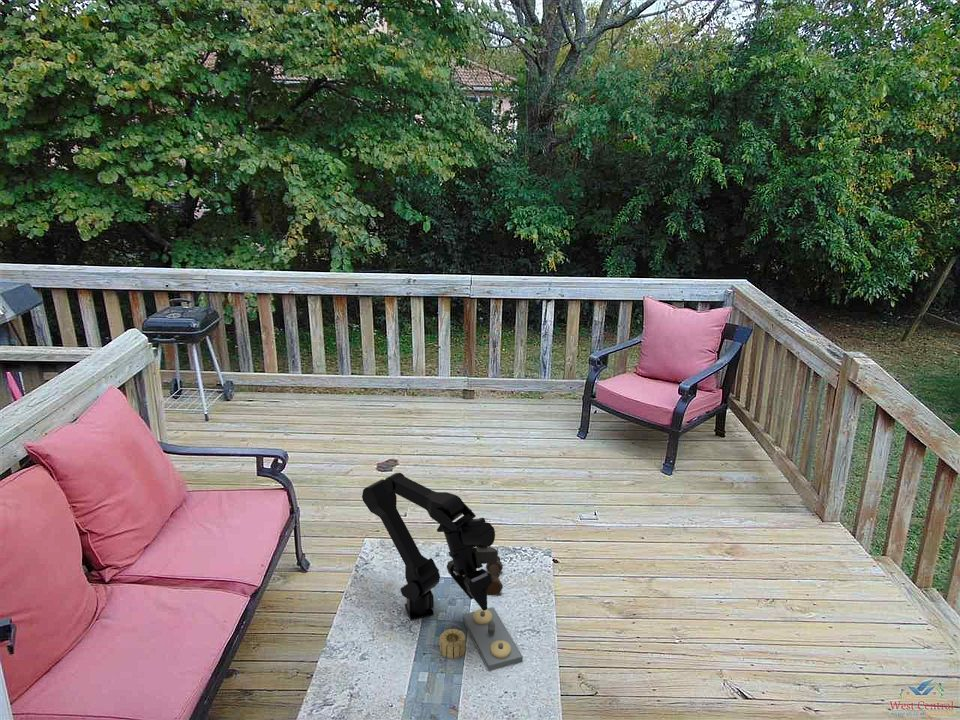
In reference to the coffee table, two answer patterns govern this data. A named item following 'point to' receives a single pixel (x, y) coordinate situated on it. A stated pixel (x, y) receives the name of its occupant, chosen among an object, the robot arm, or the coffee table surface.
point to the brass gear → (452, 643)
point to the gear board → (492, 638)
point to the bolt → (495, 578)
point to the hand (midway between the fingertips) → (478, 604)
